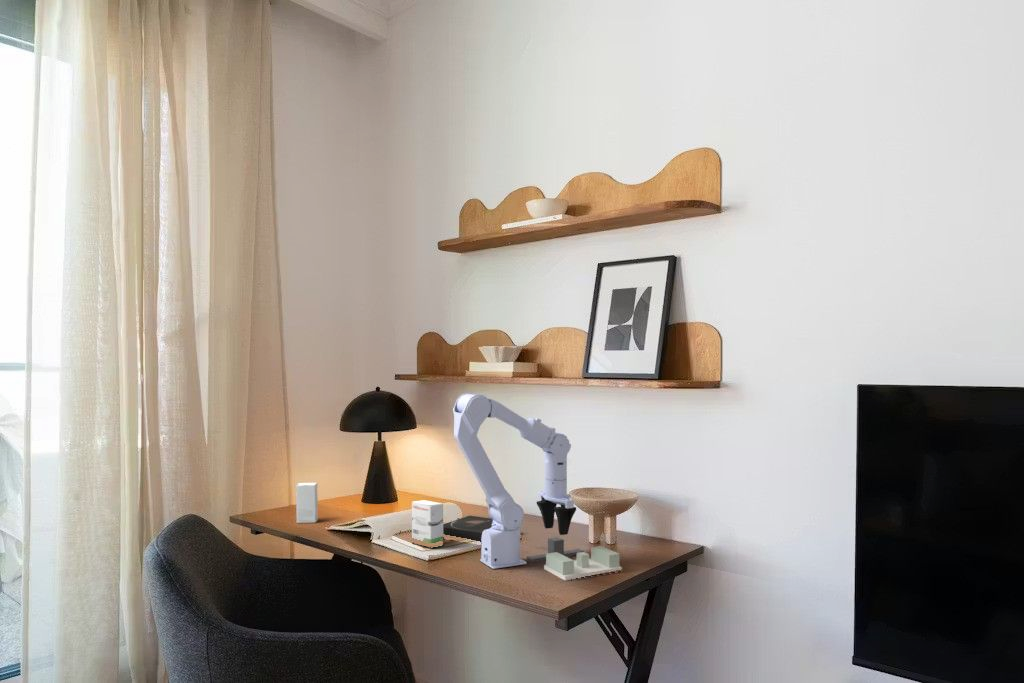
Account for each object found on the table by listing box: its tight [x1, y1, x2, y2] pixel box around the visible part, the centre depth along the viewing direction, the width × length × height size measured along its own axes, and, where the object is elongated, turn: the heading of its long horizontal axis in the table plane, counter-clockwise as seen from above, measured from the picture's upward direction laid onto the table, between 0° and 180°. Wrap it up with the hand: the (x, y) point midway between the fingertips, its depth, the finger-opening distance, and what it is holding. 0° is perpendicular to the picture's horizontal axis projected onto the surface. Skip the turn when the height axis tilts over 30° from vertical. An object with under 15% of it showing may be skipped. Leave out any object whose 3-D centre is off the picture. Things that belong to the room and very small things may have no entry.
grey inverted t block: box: [526, 536, 585, 563], centre depth 179 cm, size 16×3×5 cm, turn 119°
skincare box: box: [295, 482, 319, 524], centre depth 218 cm, size 6×4×12 cm
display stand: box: [543, 545, 623, 582], centre depth 167 cm, size 16×10×4 cm, turn 117°
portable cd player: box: [443, 515, 493, 542], centre depth 200 cm, size 16×17×4 cm
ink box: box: [411, 499, 445, 543], centre depth 191 cm, size 9×5×12 cm, turn 47°
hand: (556, 531), depth 179 cm, fingers open, 7 cm apart
